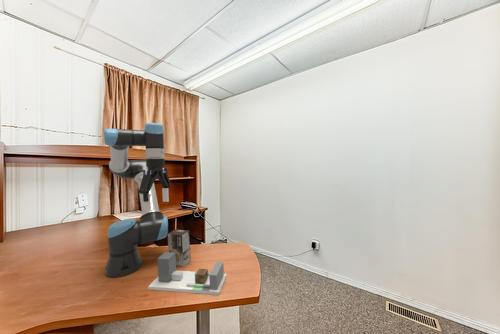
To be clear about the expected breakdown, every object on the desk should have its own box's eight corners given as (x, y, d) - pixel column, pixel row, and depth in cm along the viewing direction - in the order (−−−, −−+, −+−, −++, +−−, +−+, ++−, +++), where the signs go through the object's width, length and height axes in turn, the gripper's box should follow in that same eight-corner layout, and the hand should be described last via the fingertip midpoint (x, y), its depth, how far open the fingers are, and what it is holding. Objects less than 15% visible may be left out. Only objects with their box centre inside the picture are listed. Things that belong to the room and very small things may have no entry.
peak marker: (195, 283, 82) (194, 274, 82) (199, 277, 86) (199, 268, 86) (204, 284, 82) (204, 275, 81) (208, 277, 86) (207, 269, 86)
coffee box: (191, 260, 103) (190, 230, 102) (183, 267, 97) (182, 235, 96) (177, 258, 106) (175, 228, 105) (168, 264, 100) (167, 233, 99)
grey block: (158, 281, 84) (157, 258, 83) (165, 273, 89) (164, 252, 89) (178, 282, 82) (177, 259, 82) (184, 274, 88) (183, 253, 87)
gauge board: (148, 289, 81) (147, 272, 81) (164, 272, 93) (164, 257, 92) (218, 294, 77) (218, 277, 76) (226, 276, 89) (226, 260, 88)
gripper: (144, 158, 75) (147, 213, 76) (177, 157, 100) (178, 199, 101) (126, 158, 76) (129, 212, 77) (163, 158, 101) (165, 198, 102)
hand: (157, 205), depth 89 cm, fingers open, 13 cm apart
